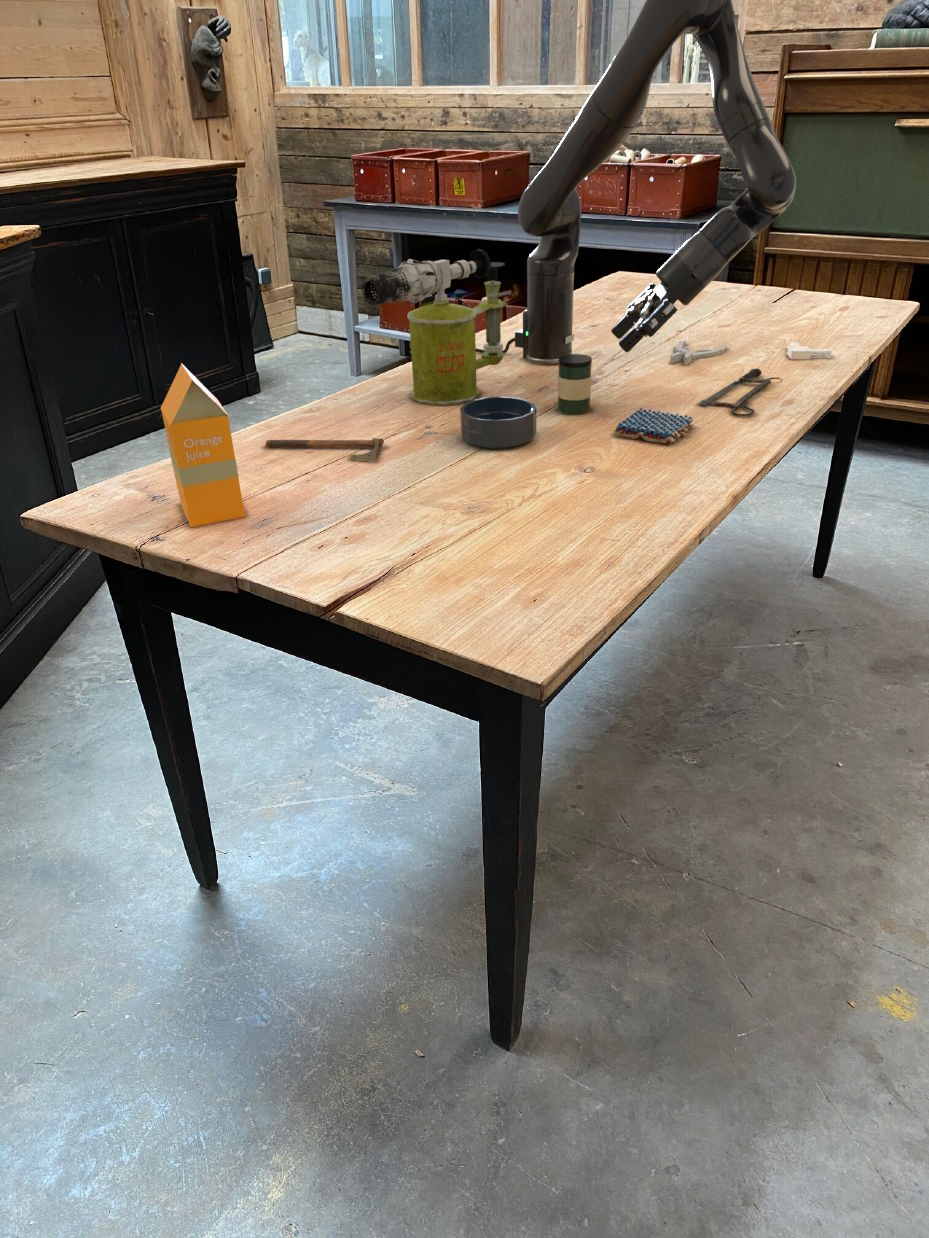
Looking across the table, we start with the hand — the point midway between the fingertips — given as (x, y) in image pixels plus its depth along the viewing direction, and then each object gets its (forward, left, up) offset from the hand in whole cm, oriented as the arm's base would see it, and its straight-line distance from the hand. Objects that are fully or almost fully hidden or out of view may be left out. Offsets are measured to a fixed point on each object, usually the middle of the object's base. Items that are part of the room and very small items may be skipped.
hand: (618, 341), depth 160 cm
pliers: (-5, +37, -12) cm, 39 cm away
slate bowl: (-8, -24, -12) cm, 27 cm away
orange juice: (-24, -70, -12) cm, 74 cm away
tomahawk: (-28, -43, -12) cm, 52 cm away
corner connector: (+14, +50, -12) cm, 54 cm away
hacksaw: (+16, +19, -12) cm, 28 cm away
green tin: (-6, -5, -12) cm, 14 cm away
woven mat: (+12, -7, -12) cm, 18 cm away
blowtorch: (-30, -11, -12) cm, 34 cm away
